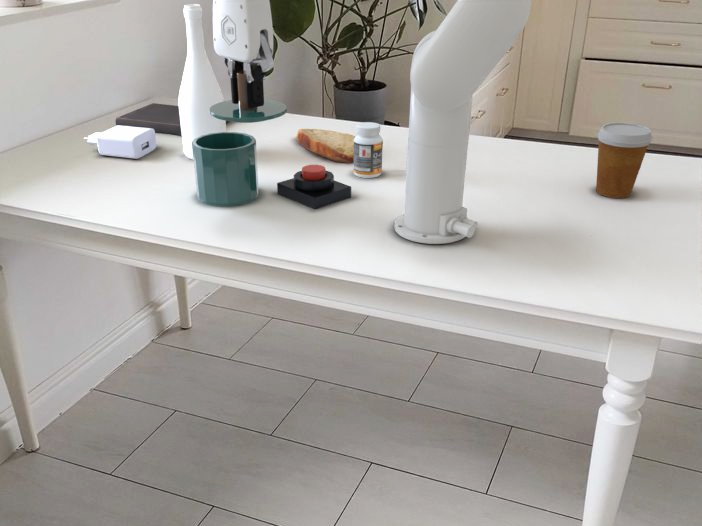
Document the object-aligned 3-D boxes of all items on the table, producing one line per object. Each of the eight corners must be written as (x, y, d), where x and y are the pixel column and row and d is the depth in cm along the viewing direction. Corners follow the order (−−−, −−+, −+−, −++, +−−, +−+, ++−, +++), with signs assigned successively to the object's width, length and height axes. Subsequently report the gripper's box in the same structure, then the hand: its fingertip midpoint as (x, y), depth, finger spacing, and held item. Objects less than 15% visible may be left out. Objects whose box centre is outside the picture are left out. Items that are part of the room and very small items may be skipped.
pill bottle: (379, 179, 149) (381, 129, 144) (351, 178, 150) (351, 128, 145) (383, 170, 154) (385, 121, 149) (355, 169, 155) (356, 120, 150)
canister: (270, 196, 142) (267, 141, 136) (220, 211, 136) (215, 154, 130) (235, 181, 149) (231, 128, 144) (186, 195, 143) (180, 140, 137)
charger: (99, 142, 173) (157, 148, 168) (76, 154, 165) (135, 160, 161) (96, 121, 170) (154, 127, 166) (71, 132, 163) (132, 138, 159)
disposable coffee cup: (585, 198, 140) (597, 133, 134) (588, 181, 147) (600, 120, 141) (639, 204, 137) (654, 138, 131) (640, 187, 145) (654, 124, 138)
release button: (330, 177, 140) (330, 168, 139) (312, 183, 137) (312, 173, 137) (314, 171, 143) (314, 162, 142) (297, 177, 140) (296, 168, 139)
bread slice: (300, 135, 176) (299, 119, 174) (375, 141, 172) (375, 124, 170) (275, 158, 161) (274, 141, 159) (357, 165, 157) (357, 147, 155)
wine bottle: (235, 156, 163) (225, 5, 147) (196, 164, 158) (180, 9, 142) (215, 146, 169) (203, 0, 154) (176, 153, 165) (160, 4, 149)
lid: (302, 116, 121) (301, 72, 117) (239, 130, 114) (237, 84, 110) (256, 101, 129) (254, 60, 125) (195, 114, 122) (191, 71, 118)
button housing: (351, 197, 141) (351, 177, 139) (315, 209, 136) (314, 188, 134) (313, 183, 148) (312, 163, 146) (277, 194, 143) (276, 173, 141)
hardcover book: (154, 112, 195) (152, 103, 194) (231, 121, 187) (230, 111, 186) (116, 128, 183) (114, 118, 182) (197, 138, 175) (196, 128, 174)
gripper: (189, -25, 114) (200, 99, 124) (253, -16, 104) (260, 118, 113) (229, -29, 118) (237, 92, 128) (295, -20, 108) (298, 110, 117)
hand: (248, 103), depth 120 cm, fingers closed on lid, 3 cm apart
